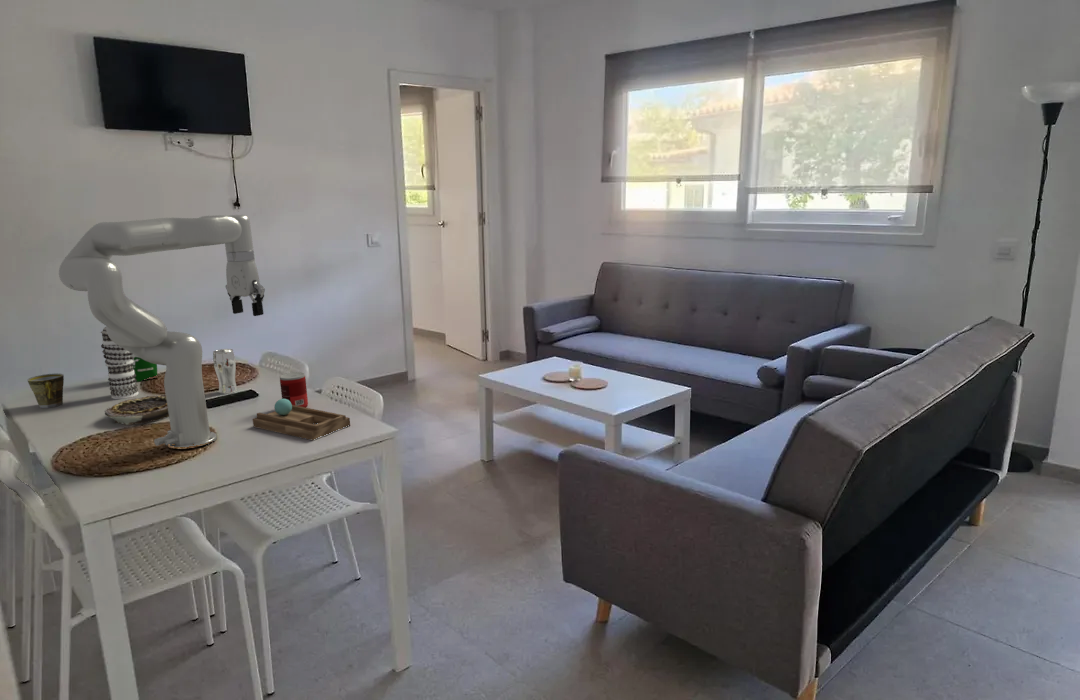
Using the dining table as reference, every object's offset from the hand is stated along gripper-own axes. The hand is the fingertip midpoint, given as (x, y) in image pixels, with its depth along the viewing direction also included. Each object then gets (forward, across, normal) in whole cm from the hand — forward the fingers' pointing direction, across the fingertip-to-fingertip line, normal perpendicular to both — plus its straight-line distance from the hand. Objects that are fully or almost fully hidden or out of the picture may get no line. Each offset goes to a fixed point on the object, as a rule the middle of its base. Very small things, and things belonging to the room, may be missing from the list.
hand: (248, 314), depth 205 cm
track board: (+33, +18, 0) cm, 38 cm away
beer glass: (+33, -37, +13) cm, 51 cm away
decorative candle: (+33, -66, -8) cm, 75 cm away
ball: (+28, +11, 0) cm, 30 cm away
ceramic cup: (+33, -76, -26) cm, 87 cm away
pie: (+33, -36, -17) cm, 52 cm away
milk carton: (+33, -84, +9) cm, 91 cm away
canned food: (+33, +1, +12) cm, 35 cm away
